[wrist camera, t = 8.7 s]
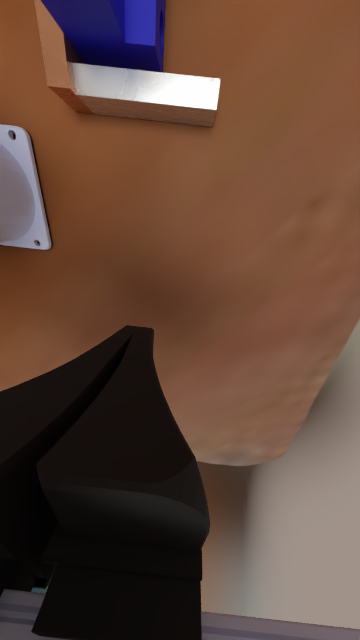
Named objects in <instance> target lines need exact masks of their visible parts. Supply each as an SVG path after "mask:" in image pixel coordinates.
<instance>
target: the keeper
mask: <svg viewBox="0 0 360 640" xmlns="http://www.w3.org/2000/svg"><path fill="white" fill-rule="evenodd" d="M34 1H35V7H36V14H37V20H38V27H39V33H40V40H41V46H42V53H43V59H44V66H45V72H46V79H47V85H48V87H49V88H50V89H52V90H53V91H54V92H55V93H56V94H57V95H58V96H59V97H60V98H62V99H63V100H64V101H65V102H66V103H67V104H68V105H69V106H70V107H72V108H73V109H74V110H75V111H76V112H81V113H90V114H99V115H108V116H117V117H127V118H136V119H145V120H154V121H163V122H172V123H181V124H190V125H200V126H209V127H213V122H214V118H215V114H216V109H217V101H218V94H219V86H220V79H217V78H207V77H198V76H189V75H180V74H171V73H162V72H153V71H143V70H134V69H125V68H116V67H107V66H98V65H88V64H85V63H84V61H83V60H82V59H81V57H80V56H79V54H78V53H77V51H76V50H75V49H74V47H73V46H72V44H71V43H70V41H69V40H68V39H67V37H66V36H65V34H64V33H63V31H62V30H61V29H60V27H59V26H58V24H57V23H56V21H55V20H54V19H53V17H52V16H51V14H50V13H49V12H48V10H47V9H46V7H45V6H44V4H43V3H42V2H41V0H34Z"/></svg>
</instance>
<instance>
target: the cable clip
mask: <svg viewBox="0 0 360 640" xmlns="http://www.w3.org/2000/svg"><path fill="white" fill-rule="evenodd" d="M165 1H166V0H41V2H42V3H43V4H44V6H45V7H46V9H47V10H48V12H49V13H50V14H51V16H52V17H53V19H54V20H55V21H56V23H57V24H58V26H59V27H60V29H61V30H62V31H63V33H64V34H65V36H66V37H67V39H68V40H69V41H70V43H71V44H72V46H73V47H74V49H75V50H76V51H77V53H78V54H79V56H80V57H81V59H82V60H83V61H84V63H85V64H88V65H98V66H107V67H116V68H125V69H134V70H143V71H153V72H162V73H163V55H164V28H165Z"/></svg>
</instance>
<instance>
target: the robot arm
mask: <svg viewBox="0 0 360 640" xmlns="http://www.w3.org/2000/svg"><path fill="white" fill-rule="evenodd" d="M14 132H15V134H16V139H15V140H14V138H13V133H14ZM37 240H38V241H39V242H40V245H39V244H38V243H37ZM0 245H6V246H15V247H24V248H33V249H42V250H47V249H50V248H51V239H50V234H49V229H48V224H47V219H46V214H45V209H44V204H43V199H42V194H41V189H40V184H39V179H38V174H37V169H36V164H35V159H34V154H33V149H32V144H31V139H30V136H29V134H28V132H27V131H26V130H25V129H23V128H21V127H18V126H10V125H1V124H0ZM153 340H154V330H153V329H152V328H146V327H137V326H128V325H127V326H125V327H123V328H122V329H121V330H119V331H118V332H116V333H115V334H113V335H112V336H110V337H109V338H107V339H106V340H104V341H103V342H101V343H100V344H99V345H97V346H95V347H94V348H92V349H90V350H89V351H87V352H85V353H84V354H82V355H80V356H79V357H77V358H75V359H73V360H71V361H70V362H68V363H66V364H64V365H62V366H60V367H58V368H56V369H54V370H52V371H49V372H47V373H45V374H43V375H40V376H38V377H36V378H33V379H31V380H28V381H26V382H24V383H21V384H19V385H17V386H14V387H11V388H9V389H6V390H3V391H1V392H0V640H360V629H351V628H343V627H333V626H324V625H316V624H306V623H298V622H290V621H281V620H272V619H263V618H254V617H246V616H236V615H228V614H219V613H211V612H202V611H201V588H200V587H201V585H200V581H201V580H202V546H203V544H204V542H205V540H206V538H207V535H208V533H209V528H210V519H209V511H208V506H207V500H206V495H205V491H204V487H203V483H202V479H201V476H200V472H199V469H198V466H197V462H196V459H195V456H194V454H193V453H192V451H191V449H190V447H189V446H188V444H187V442H186V440H185V439H184V437H183V435H182V433H181V431H180V429H179V427H178V425H177V423H176V421H175V419H174V417H173V415H172V413H171V411H170V408H169V406H168V404H167V401H166V399H165V397H164V394H163V391H162V389H161V386H160V383H159V380H158V376H157V373H156V369H155V364H154V360H153ZM47 586H48V589H47V592H46V594H44V593H35V592H31V590H32V588H41V589H46V587H47Z"/></svg>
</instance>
